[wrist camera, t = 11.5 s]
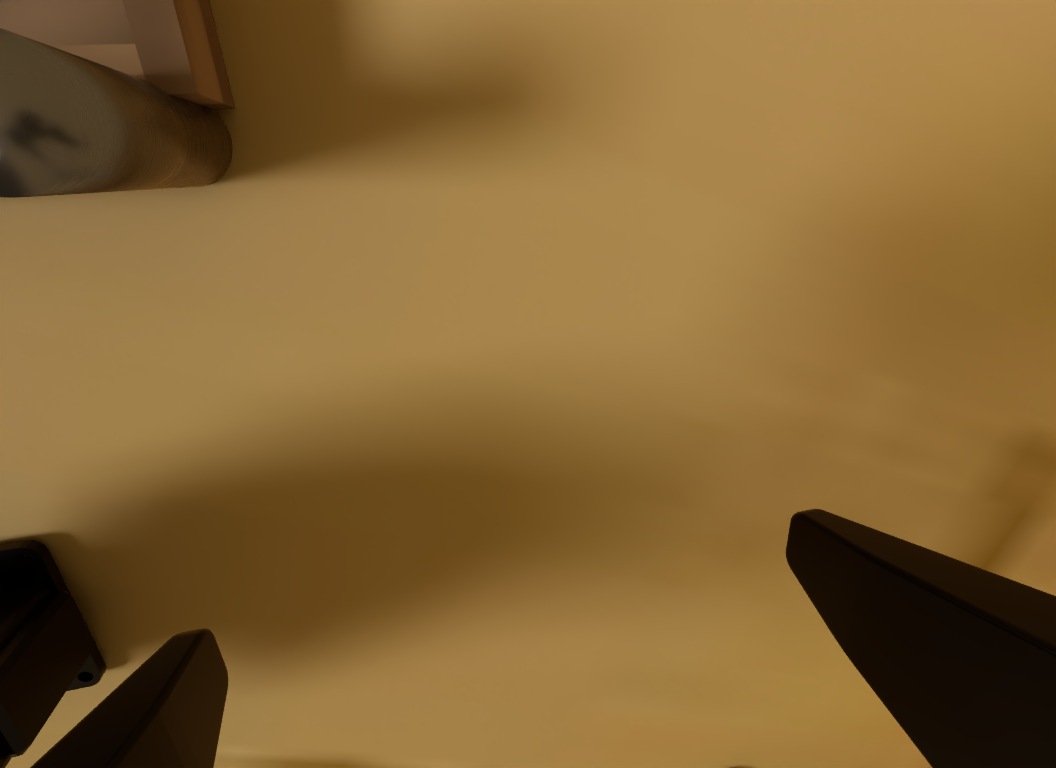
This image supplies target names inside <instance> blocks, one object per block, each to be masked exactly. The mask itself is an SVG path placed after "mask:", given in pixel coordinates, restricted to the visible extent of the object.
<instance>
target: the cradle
mask: <svg viewBox="0 0 1056 768" xmlns="http://www.w3.org/2000/svg"><path fill="white" fill-rule="evenodd" d="M218 108H235V107H234V103H233V99H232V95H231V90H230V86H229V82H228V78H227V74H226V69H225V65H224V61H223V57H222V53H221V49H220V44H219V40H218V36H217V32H216V28H215V23H214V19H213V15H212V11H211V7H210V2H209V0H0V197H31V196H48V195H64V194H81V193H98V192H114V191H131V190H148V189H164V188H181V187H197V186H205V185H208V184H211V183H213V182H215V181H217V180H218V179H219V178H221V177H222V176H223V175H224V173H225V172H226V171H227V169H228V167H229V165H230V162H231V158H232V142H231V138H230V135H229V132H228V130H227V128H226V126H225V124H224V122H223V121H222V120H221V118H220V117H219V116H218V115H217V114H216V112H215V111H213V110H212V109H218Z"/></svg>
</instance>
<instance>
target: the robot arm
mask: <svg viewBox="0 0 1056 768" xmlns="http://www.w3.org/2000/svg"><path fill="white" fill-rule="evenodd" d="M24 554H28V555H30V556H31V557H32V558H29V557H26V556H25V555H24ZM786 558H787V562H788V564H789V566H790V568H791V570H792V572H793V573H794V575H795V576H796V578H797V579H798V581H799V583H800V584H801V586H802V587H803V589H804V590H805V592H806V594H807V595H808V597H809V598H810V600H811V601H812V603H813V605H814V606H815V608H816V609H817V611H818V612H819V614H820V616H821V617H822V619H823V620H824V622H825V623H826V625H827V627H828V628H829V630H830V631H831V633H832V634H833V636H834V638H835V639H836V641H837V642H838V643H839V645H840V646H841V648H842V649H843V651H844V652H845V654H846V655H847V656H848V658H849V659H850V660H851V662H852V663H853V665H854V666H855V667H856V669H857V670H858V671H859V672H860V674H861V675H862V676H863V678H864V679H865V680H866V682H867V683H868V684H869V685H870V687H871V688H872V689H873V691H874V692H875V693H876V695H877V696H878V697H879V698H880V700H881V701H882V702H883V704H884V705H885V706H886V708H887V709H888V710H889V712H890V713H891V714H892V715H893V717H894V718H895V719H896V721H897V722H898V723H899V725H900V726H901V727H902V728H903V730H904V731H905V732H906V734H907V735H908V736H909V738H910V739H911V740H912V742H913V743H914V744H915V745H916V747H917V748H918V749H919V751H920V752H921V753H922V755H923V756H924V757H925V758H926V760H927V761H928V762H929V764H930V765H931V766H932V768H1056V596H1054V595H1051V594H1048V593H1046V592H1043V591H1040V590H1038V589H1035V588H1032V587H1029V586H1027V585H1024V584H1021V583H1019V582H1016V581H1013V580H1010V579H1008V578H1005V577H1002V576H1000V575H997V574H994V573H991V572H989V571H986V570H983V569H981V568H978V567H975V566H973V565H970V564H967V563H964V562H962V561H959V560H956V559H954V558H951V557H948V556H945V555H943V554H940V553H937V552H935V551H932V550H929V549H927V548H924V547H921V546H918V545H916V544H913V543H910V542H908V541H905V540H902V539H899V538H897V537H894V536H891V535H889V534H886V533H883V532H880V531H878V530H875V529H872V528H870V527H867V526H864V525H862V524H859V523H856V522H853V521H851V520H848V519H845V518H843V517H840V516H837V515H834V514H832V513H829V512H826V511H824V510H821V509H811V510H806V511H801V512H797V513H795V514H794V515H793V516H792V518H791V522H790V528H789V534H788V541H787V547H786ZM105 671H106V665H105V663H104V661H103V659H102V657H101V655H100V653H99V651H98V648H97V646H96V644H95V641H94V639H93V637H92V635H91V633H90V631H89V629H88V627H87V625H86V623H85V621H84V619H83V617H82V615H81V613H80V611H79V609H78V607H77V605H76V603H75V601H74V599H73V597H72V596H71V594H70V592H69V590H68V588H67V586H66V584H65V582H64V580H63V578H62V576H61V574H60V572H59V570H58V568H57V566H56V564H55V562H54V560H53V558H52V556H51V554H50V552H49V550H48V549H47V547H46V546H45V545H44V544H42V543H40V542H38V541H34V540H24V541H18V542H12V543H6V544H0V768H5V767H6V765H7V764H8V762H9V761H10V759H11V758H12V757H16V756H20V755H23V754H24V753H25V751H26V750H27V749H28V748H29V747H30V745H31V744H32V742H33V741H34V739H35V738H36V736H37V735H38V733H39V732H40V730H41V729H42V727H43V726H44V724H45V723H46V721H47V719H48V718H49V716H50V715H51V713H52V712H53V710H54V709H55V707H56V706H57V704H58V703H59V701H60V700H61V698H62V697H63V695H64V694H65V692H66V691H70V690H74V689H79V688H84V687H89V686H92V685H95V684H97V683H98V682H99V681H100V679H101V678H102V676H103V674H104V673H105ZM227 690H228V672H227V668H226V666H225V663H224V660H223V658H222V655H221V652H220V650H219V647H218V644H217V642H216V639H215V636H214V635H213V633H212V632H211V631H210V630H209V629H198V630H193V631H188V632H183V633H179V634H176V635H175V636H173V637H172V638H171V639H169V640H168V641H167V642H166V643H165V644H164V645H163V646H162V647H161V648H159V649H158V650H157V651H156V652H155V653H154V654H153V655H152V656H151V657H150V658H149V659H148V660H146V661H145V662H144V663H143V664H142V665H141V666H140V667H139V668H138V669H137V670H136V671H135V672H133V673H132V674H131V675H130V676H129V677H128V678H127V679H126V680H125V681H124V682H123V683H122V684H120V685H119V686H118V687H117V688H116V689H115V690H114V691H113V692H112V693H111V694H110V695H109V696H107V697H106V698H105V699H104V700H103V701H102V702H101V703H100V704H99V705H98V706H97V707H96V708H94V709H93V710H92V711H91V712H90V713H89V714H88V715H87V716H86V717H85V718H84V719H83V720H81V721H80V722H79V723H78V724H77V725H76V726H75V727H74V728H73V729H72V730H71V731H69V732H68V733H67V734H66V735H65V736H64V737H63V738H62V739H61V740H60V741H59V742H58V743H56V744H55V745H54V746H53V747H52V748H51V749H50V750H49V751H48V752H47V753H46V754H45V755H43V756H42V757H41V758H40V759H39V760H38V761H37V762H36V763H35V764H34V765H33V766H32V767H30V768H213V767H214V762H215V756H216V751H217V745H218V740H219V734H220V728H221V723H222V717H223V712H224V706H225V701H226V695H227Z"/></svg>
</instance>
